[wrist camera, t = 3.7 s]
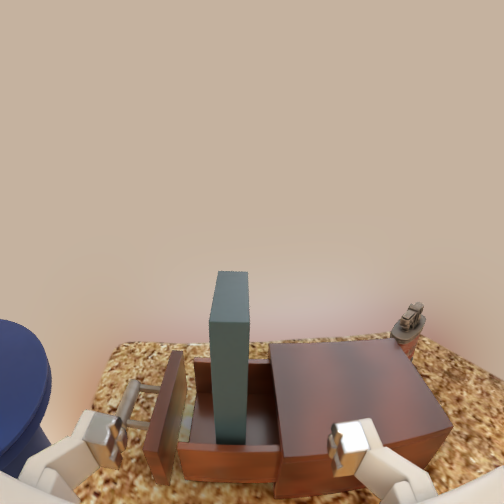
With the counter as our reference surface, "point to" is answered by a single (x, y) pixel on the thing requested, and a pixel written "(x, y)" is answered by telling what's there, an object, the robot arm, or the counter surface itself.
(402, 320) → the lighter
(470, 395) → the counter surface
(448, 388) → the counter surface
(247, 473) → the drawer
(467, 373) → the counter surface
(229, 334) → the dark teal rectangular block
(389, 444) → the cabinet
